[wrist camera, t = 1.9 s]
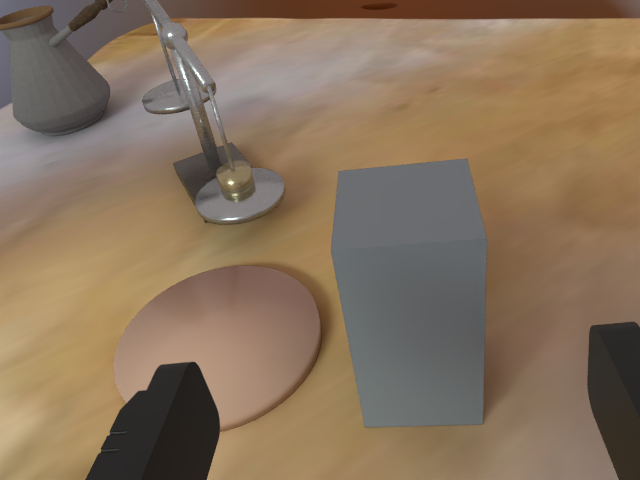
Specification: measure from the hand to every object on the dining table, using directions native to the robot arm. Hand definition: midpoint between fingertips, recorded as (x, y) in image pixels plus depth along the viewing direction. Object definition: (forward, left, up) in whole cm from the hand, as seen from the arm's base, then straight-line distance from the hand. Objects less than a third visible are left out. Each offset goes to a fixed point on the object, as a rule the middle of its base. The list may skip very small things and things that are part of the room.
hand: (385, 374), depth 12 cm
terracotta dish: (-20, -2, -16) cm, 26 cm away
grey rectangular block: (-11, +7, -16) cm, 21 cm away
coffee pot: (-63, -4, -17) cm, 65 cm away
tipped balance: (-39, +4, -16) cm, 42 cm away
